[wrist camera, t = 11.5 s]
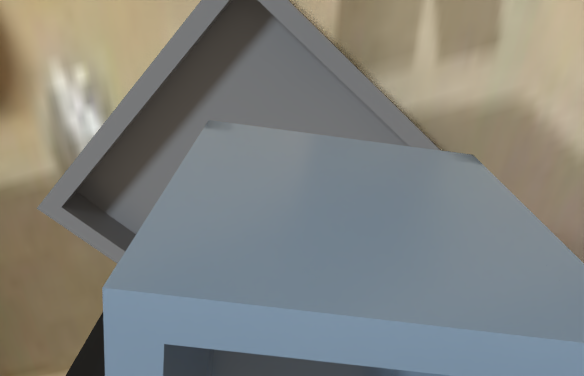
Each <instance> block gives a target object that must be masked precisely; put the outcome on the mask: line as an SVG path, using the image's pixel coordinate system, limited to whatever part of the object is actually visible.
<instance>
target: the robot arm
mask: <svg viewBox="0 0 584 376" xmlns="http://www.w3.org/2000/svg"><path fill="white" fill-rule="evenodd" d="M66 376H105V358H104V322H103V313H102V315H101V316H100V318H99V320H98V321H97V323H96V325H95V326H94V328H93V330H92V332H91V333H90V335H89V337H88V338H87V340H86V342H85V344H84V345H83V347H82V349H81V350H80V352H79V354H78V356H77V357H76V359H75V361H74V362H73V364H72V366H71V368H70V369H69V371H68V373H67V374H66Z"/></svg>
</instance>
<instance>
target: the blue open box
mask: <svg viewBox="0 0 584 376" xmlns="http://www.w3.org/2000/svg"><path fill="white" fill-rule="evenodd" d="M103 322H104V358H105V376H584V263H583V262H582V261H581V260H580V259H579V258H578V257H577V256H576V255H575V254H573V253H572V252H571V251H570V250H569V249H568V248H567V247H566V246H565V245H564V244H563V243H562V242H561V241H560V240H559V239H558V238H557V237H556V236H555V235H554V234H553V233H552V232H551V231H550V230H549V229H548V228H547V227H546V226H545V225H544V224H543V223H542V222H541V221H540V220H539V219H538V218H537V217H536V216H535V215H534V214H533V213H532V212H531V211H530V210H529V209H528V208H527V207H526V206H525V205H524V204H522V203H521V202H520V201H519V200H518V199H517V198H516V197H515V196H514V195H513V194H512V193H511V192H510V191H509V190H508V189H507V188H506V187H505V186H504V185H503V184H502V183H501V182H500V181H499V180H498V179H497V178H496V177H495V176H494V175H493V174H492V173H491V172H490V171H489V170H488V169H487V168H486V167H485V166H484V165H483V164H482V163H481V162H480V161H479V160H478V159H477V158H476V157H475V156H474V155H470V154H463V153H455V152H448V151H440V150H433V149H425V148H417V147H410V146H402V145H395V144H387V143H379V142H372V141H364V140H357V139H349V138H341V137H334V136H326V135H319V134H311V133H304V132H296V131H288V130H281V129H273V128H266V127H258V126H250V125H243V124H235V123H228V122H220V121H212V120H208V122H207V123H206V125H205V127H204V128H203V130H202V131H201V133H200V135H199V136H198V138H197V139H196V141H195V142H194V144H193V146H192V147H191V149H190V150H189V152H188V153H187V155H186V157H185V158H184V160H183V161H182V163H181V165H180V166H179V168H178V169H177V171H176V172H175V174H174V176H173V177H172V179H171V180H170V182H169V183H168V185H167V187H166V188H165V190H164V191H163V193H162V195H161V196H160V198H159V199H158V201H157V202H156V204H155V206H154V207H153V209H152V210H151V212H150V214H149V215H148V217H147V218H146V220H145V221H144V223H143V225H142V226H141V228H140V229H139V231H138V232H137V234H136V236H135V237H134V239H133V240H132V242H131V244H130V245H129V247H128V248H127V250H126V251H125V253H124V255H123V256H122V258H121V259H120V261H119V262H118V264H117V266H116V267H115V269H114V270H113V272H112V274H111V275H110V277H109V278H108V280H107V281H106V283H105V285H104V286H103Z"/></svg>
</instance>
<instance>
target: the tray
mask: <svg viewBox="0 0 584 376" xmlns="http://www.w3.org/2000/svg"><path fill="white" fill-rule="evenodd" d="M208 120H212V121H220V122H228V123H235V124H243V125H250V126H258V127H266V128H273V129H281V130H288V131H296V132H304V133H311V134H319V135H326V136H334V137H341V138H349V139H357V140H364V141H372V142H379V143H387V144H395V145H402V146H410V147H417V148H425V149H433V150H440V149H439V148H438V147H437V146H436V145H435V144H434V143H433V142H432V141H431V140H430V139H429V138H428V137H427V136H426V135H425V134H424V133H423V132H422V131H421V130H420V129H419V128H418V127H417V126H416V125H415V124H414V123H413V122H412V121H411V120H410V119H409V118H408V117H407V116H406V115H405V114H404V113H403V112H402V111H401V110H400V109H398V108H397V107H396V106H395V105H394V104H393V103H392V102H391V101H390V100H389V99H388V98H387V97H386V96H385V95H384V94H383V93H382V92H381V91H380V90H379V89H378V88H377V87H376V86H375V85H374V84H373V83H372V82H371V81H370V80H369V79H368V78H367V77H366V76H365V75H364V74H363V73H362V72H361V71H360V70H359V69H358V68H357V67H356V66H355V65H354V64H353V63H352V62H351V61H350V60H349V59H348V58H347V57H346V56H345V55H344V54H343V53H342V52H341V51H340V50H339V49H338V48H337V47H336V46H335V45H334V44H333V43H332V42H331V41H330V40H328V39H327V38H326V37H325V36H324V35H323V34H322V33H321V32H320V31H319V30H318V29H317V28H316V27H315V26H314V25H313V24H312V23H311V22H310V21H309V20H308V19H307V18H306V17H305V16H304V15H303V14H302V13H301V12H300V11H299V10H298V9H297V8H296V7H295V6H294V5H293V4H292V3H291V2H290V1H289V0H201V1H200V3H199V4H198V5H197V6H196V8H195V9H194V10H193V12H192V13H191V14H190V15H189V17H188V18H187V19H186V20H185V22H184V23H183V24H182V25H181V27H180V28H179V29H178V30H177V32H176V33H175V34H174V36H173V37H172V38H171V39H170V41H169V42H168V43H167V44H166V46H165V47H164V48H163V49H162V51H161V52H160V53H159V55H158V56H157V57H156V58H155V60H154V61H153V62H152V63H151V65H150V66H149V67H148V68H147V70H146V71H145V72H144V73H143V75H142V76H141V77H140V79H139V80H138V81H137V82H136V84H135V85H134V86H133V87H132V89H131V90H130V91H129V92H128V94H127V95H126V96H125V97H124V99H123V100H122V101H121V103H120V104H119V105H118V106H117V108H116V109H115V110H114V111H113V113H112V114H111V115H110V116H109V118H108V119H107V120H106V121H105V123H104V124H103V125H102V127H101V128H100V129H99V130H98V132H97V133H96V134H95V135H94V137H93V138H92V139H91V140H90V142H89V143H88V144H87V145H86V147H85V148H84V149H83V151H82V152H81V153H80V154H79V156H78V157H77V158H76V159H75V161H74V162H73V163H72V164H71V166H70V167H69V168H68V170H67V171H66V172H65V173H64V175H63V176H62V177H61V178H60V180H59V181H58V182H57V183H56V185H55V186H54V187H53V188H52V190H51V191H50V192H49V194H48V195H47V196H46V197H45V199H44V200H43V201H42V202H41V204H40V205H39V206H38V207H37V209H38V210H40V211H41V212H43V213H44V214H46V215H47V216H49V217H50V218H52V219H53V220H55V221H56V222H57V223H59V224H60V225H62V226H63V227H65V228H66V229H68V230H69V231H71V232H72V233H74V234H75V235H76V236H78V237H79V238H81V239H82V240H84V241H85V242H87V243H88V244H90V245H91V246H93V247H94V248H95V249H97V250H98V251H100V252H101V253H103V254H104V255H106V256H107V257H109V258H110V259H112V260H113V261H115V262H116V263H117V264H118V262H119V261H120V259H121V258H122V256H123V255H124V253H125V251H126V250H127V248H128V247H129V245H130V244H131V242H132V240H133V239H134V237H135V236H136V234H137V232H138V231H139V229H140V228H141V226H142V225H143V223H144V221H145V220H146V218H147V217H148V215H149V214H150V212H151V210H152V209H153V207H154V206H155V204H156V202H157V201H158V199H159V198H160V196H161V195H162V193H163V191H164V190H165V188H166V187H167V185H168V183H169V182H170V180H171V179H172V177H173V176H174V174H175V172H176V171H177V169H178V168H179V166H180V165H181V163H182V161H183V160H184V158H185V157H186V155H187V153H188V152H189V150H190V149H191V147H192V146H193V144H194V142H195V141H196V139H197V138H198V136H199V135H200V133H201V131H202V130H203V128H204V127H205V125H206V123H207V122H208ZM440 151H441V150H440Z"/></svg>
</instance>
